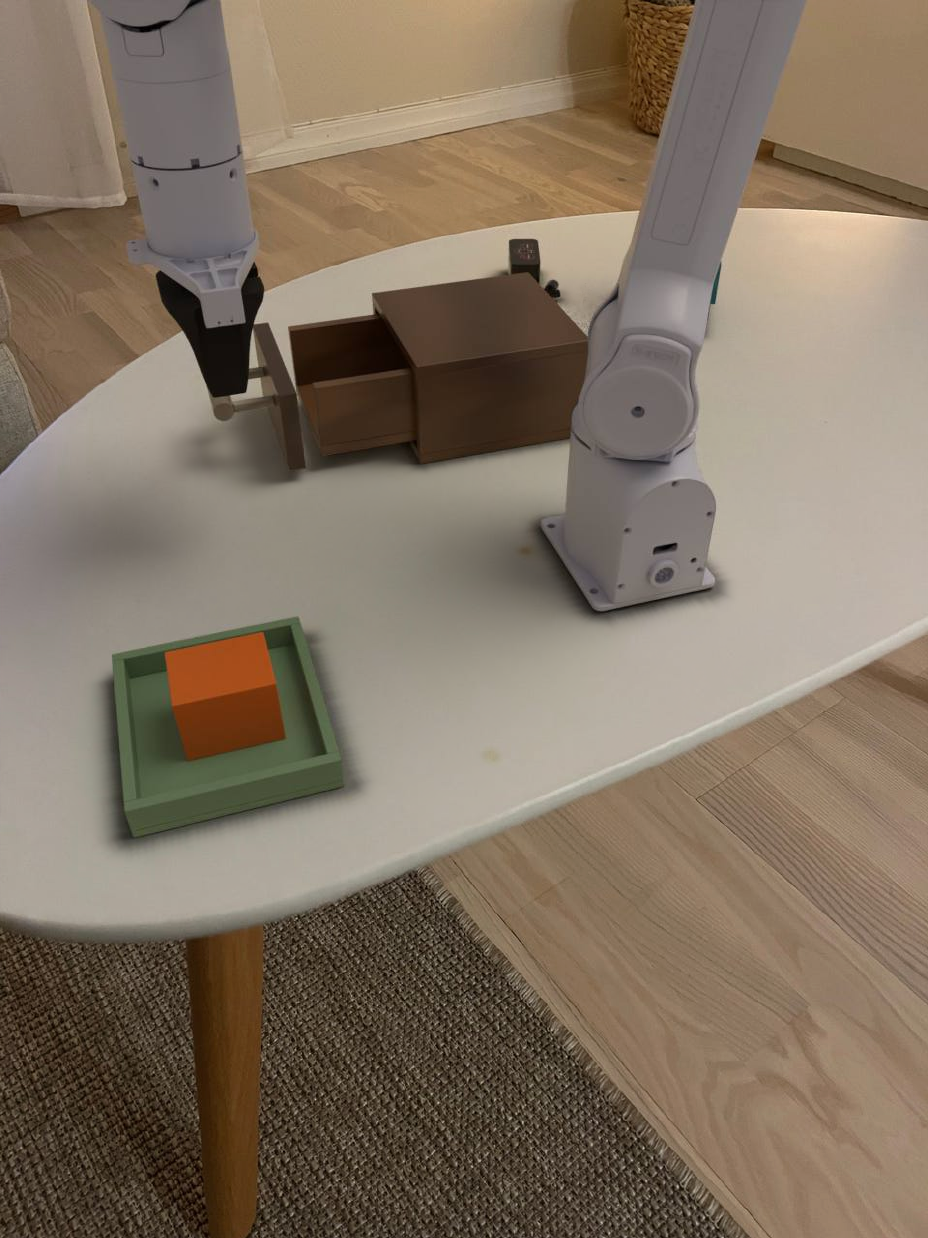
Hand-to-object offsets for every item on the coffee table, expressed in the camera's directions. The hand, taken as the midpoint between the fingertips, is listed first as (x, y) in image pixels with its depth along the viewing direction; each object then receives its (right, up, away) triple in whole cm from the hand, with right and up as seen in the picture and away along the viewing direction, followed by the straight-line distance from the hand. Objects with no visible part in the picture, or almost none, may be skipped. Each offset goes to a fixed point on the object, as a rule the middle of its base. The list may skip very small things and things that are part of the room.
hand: (228, 390), depth 61 cm
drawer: (+4, +1, +14) cm, 14 cm away
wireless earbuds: (+21, +17, +34) cm, 44 cm away
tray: (+2, -20, -8) cm, 21 cm away
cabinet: (+15, +2, +17) cm, 23 cm away
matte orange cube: (+2, -19, -9) cm, 21 cm away
